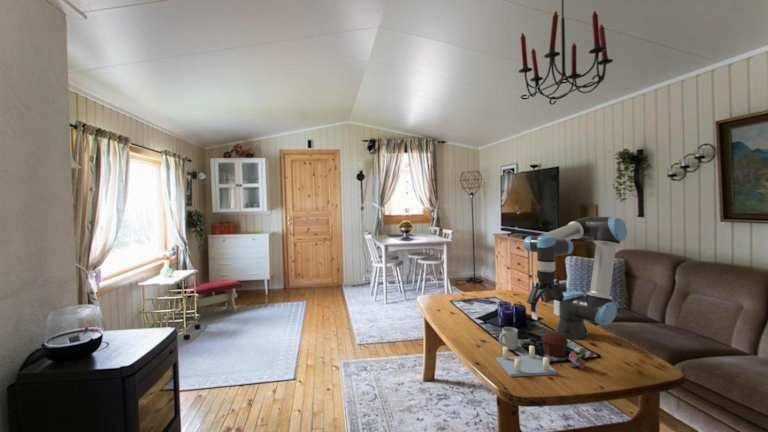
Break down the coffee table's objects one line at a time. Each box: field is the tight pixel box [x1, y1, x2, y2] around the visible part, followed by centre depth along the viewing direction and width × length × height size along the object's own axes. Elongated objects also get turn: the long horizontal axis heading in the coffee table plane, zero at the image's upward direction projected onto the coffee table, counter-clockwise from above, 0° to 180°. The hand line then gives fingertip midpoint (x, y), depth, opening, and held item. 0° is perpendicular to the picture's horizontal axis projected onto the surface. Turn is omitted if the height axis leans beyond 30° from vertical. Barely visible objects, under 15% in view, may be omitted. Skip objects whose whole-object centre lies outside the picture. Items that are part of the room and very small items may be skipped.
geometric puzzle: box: [568, 351, 587, 371], centre depth 157 cm, size 7×7×8 cm
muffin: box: [541, 330, 569, 358], centre depth 172 cm, size 12×11×10 cm
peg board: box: [495, 345, 558, 378], centre depth 158 cm, size 20×16×6 cm
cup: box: [498, 326, 519, 351], centre depth 179 cm, size 7×10×9 cm
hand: (545, 316), depth 164 cm, fingers open, 13 cm apart
